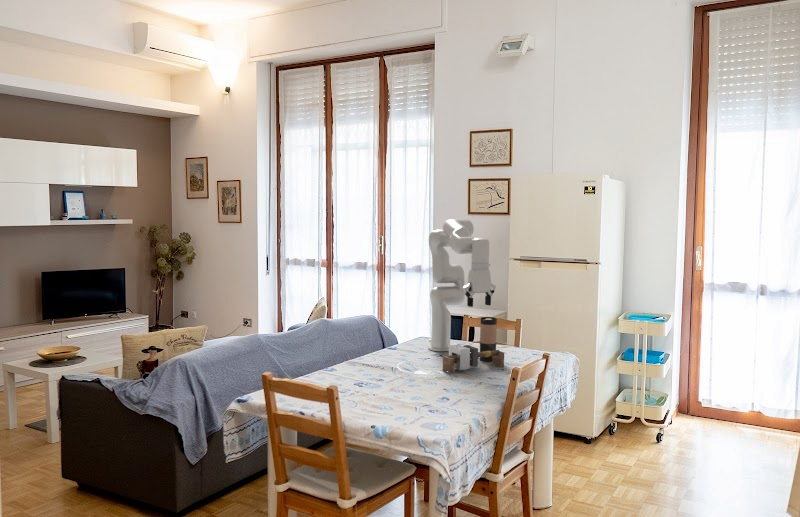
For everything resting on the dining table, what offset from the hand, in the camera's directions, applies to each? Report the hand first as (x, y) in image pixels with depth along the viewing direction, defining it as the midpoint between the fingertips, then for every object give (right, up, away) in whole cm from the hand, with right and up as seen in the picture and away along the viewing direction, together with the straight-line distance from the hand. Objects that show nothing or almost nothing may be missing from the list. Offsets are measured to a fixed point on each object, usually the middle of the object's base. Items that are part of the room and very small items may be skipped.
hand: (479, 305), depth 294 cm
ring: (-3, -26, +5) cm, 27 cm away
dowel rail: (-2, -28, +6) cm, 29 cm away
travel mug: (+7, -27, +22) cm, 36 cm away
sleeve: (-9, -27, +2) cm, 29 cm away
